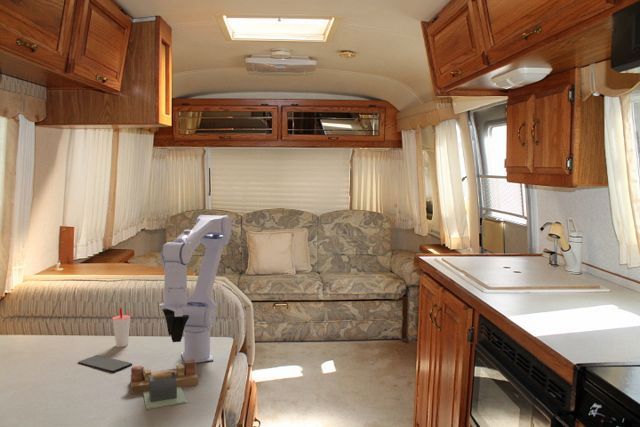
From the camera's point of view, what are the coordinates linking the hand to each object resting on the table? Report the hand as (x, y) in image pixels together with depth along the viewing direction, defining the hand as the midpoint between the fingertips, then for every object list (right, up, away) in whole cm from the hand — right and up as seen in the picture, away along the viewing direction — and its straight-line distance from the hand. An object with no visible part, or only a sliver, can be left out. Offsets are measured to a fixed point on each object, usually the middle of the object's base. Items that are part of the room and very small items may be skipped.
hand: (174, 338), depth 136 cm
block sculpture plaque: (-2, -11, -4) cm, 12 cm away
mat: (+1, -12, -13) cm, 17 cm away
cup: (-24, -8, +25) cm, 35 cm away
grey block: (+1, -11, -13) cm, 17 cm away
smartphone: (-22, -10, +9) cm, 26 cm away
